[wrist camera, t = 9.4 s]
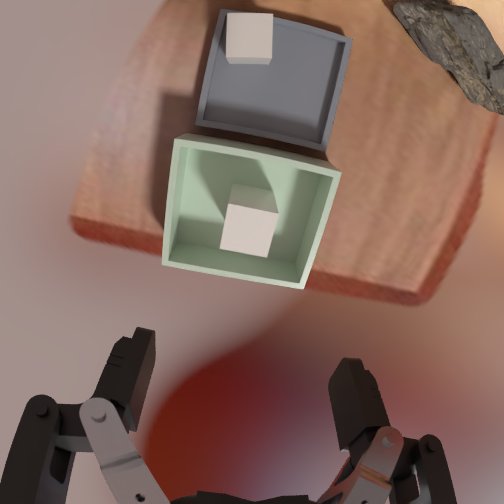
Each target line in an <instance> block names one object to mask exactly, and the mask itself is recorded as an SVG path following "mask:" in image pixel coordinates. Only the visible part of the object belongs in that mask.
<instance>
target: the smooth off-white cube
mask: <svg viewBox="0 0 504 504" xmlns="http://www.w3.org/2000/svg"><path fill="white" fill-rule="evenodd" d="M272 36H273V14H266V13H227V34H226V59H227V61H228V62H229V64H267V65H269V63H270V61H271V59H272Z"/></svg>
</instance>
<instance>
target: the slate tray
mask: <svg viewBox="0 0 504 504" xmlns="http://www.w3.org/2000/svg"><path fill="white" fill-rule="evenodd" d="M227 13H250V12H243V11H236V10H228V9H220V12H219V16H218V20H217V24H216V28H215V32H214V36H213V40H212V44H211V49H210V53H209V57H208V62H207V66H206V71H205V76H204V81H203V85H202V90H201V95H200V101H199V106H198V111H197V117H196V122H195V125H196V126H203V127H210V128H216V129H222V130H228V131H234V132H239V133H245V134H250V135H255V136H260V137H265V138H270V139H274V140H279V141H283V142H287V143H292V144H296V145H300V146H304V147H308V148H312V149H316V150H320V151H324V152H326V148H327V145H328V141H329V137H330V133H331V129H332V126H333V122H334V118H335V114H336V110H337V106H338V102H339V98H340V94H341V90H342V85H343V81H344V77H345V73H346V68H347V64H348V60H349V55H350V51H351V46H352V41H353V39H351V38H348V37H345V36H342V35H339V34H336V33H333V32H330V31H327V30H323V29H320V28H317V27H313V26H310V25H306V24H302V23H298V22H294V21H290V20H286V19H281V18H276V17H273V36H272V59H271V61H270V63H269V65H267V64H229V62H228V61H227V59H226V34H227Z"/></svg>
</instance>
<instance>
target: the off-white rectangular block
mask: <svg viewBox="0 0 504 504" xmlns="http://www.w3.org/2000/svg"><path fill="white" fill-rule="evenodd" d="M278 215H279V212H278V208H277V204H276V200H275V195H274V191H270V190H265V189H260V188H256V187H251V186H246V185H241V184H236V183H233V184H232V188H231V193H230V198H229V203H228V208H227V213H226V218H225V223H224V228H223V233H222V238H221V243H220V249H224V250H229V251H235V252H240V253H245V254H250V255H256V256H261V257H266V258H267V255H268V252H269V248H270V244H271V241H272V237H273V234H274V230H275V226H276V223H277V219H278Z"/></svg>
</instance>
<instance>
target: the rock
mask: <svg viewBox="0 0 504 504" xmlns="http://www.w3.org/2000/svg"><path fill="white" fill-rule="evenodd" d="M393 12H394V14H395V15H396V16H397V18H398V20H399V21H400V22H401V23H402V24H403V25H404V27H405V28H406V29H407V30H408V32H409V34H410V36H411V37H412V38H413V40H414V41H415V42H416V44H417V45H418V47H419V48H420V50H421V51H422V52H423V54H424V55H426V56H427V57H428V58H430V60H431V61H433V62H435V63H438V64H440V65H441V66H442V67H443V69H444V70H449V71H451V72H452V73H453V75H454V76H455V78H456V80H457V81H458V83H459V85H460V87H461V89H462V90H463V92H464V94H465V95H466V97H467V99H468V100H469V101H471V102H472V103H474V104H477V105H481V106H483V107H484V108H486V109H487V110H489V111H491V112H496V113H498V114H501V115H504V55H503V53H502V51H501V50H500V48H499V47H498V45H497V44H496V42H495V41H494V39H493V37H492V35H491V33H490V31H489V30H488V28H487V27H486V25H485V23H484V21H483V20H482V19H481V18H480V17H479V16H478V14H477V13H476V12H475V11H473V10H472V9H469V8H467V7H463V6H456V5H450V4H449V2H448V1H447V0H409V1H399V2H395V3H393Z"/></svg>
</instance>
